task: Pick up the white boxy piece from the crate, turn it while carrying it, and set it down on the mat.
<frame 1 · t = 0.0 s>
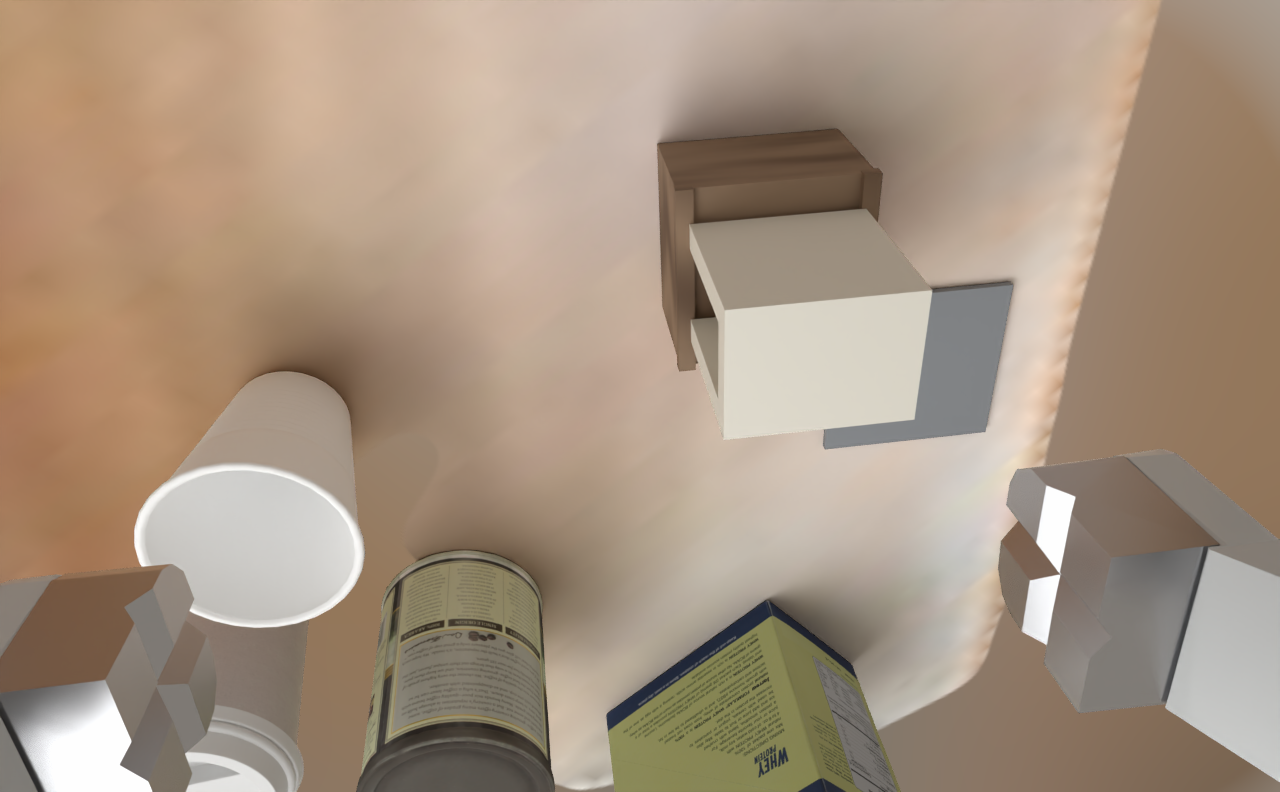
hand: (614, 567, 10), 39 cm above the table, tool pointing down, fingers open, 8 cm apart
coffee can: (463, 605, 63), on the table
cup: (293, 413, 54), on the table
mat: (912, 367, 57), on the table
protein box: (728, 686, 71), on the table
coffee cup: (257, 582, 60), on the table
white boxy piece: (776, 277, 45), point 6 cm above the table, touching crate
crate: (746, 221, 50), on the table
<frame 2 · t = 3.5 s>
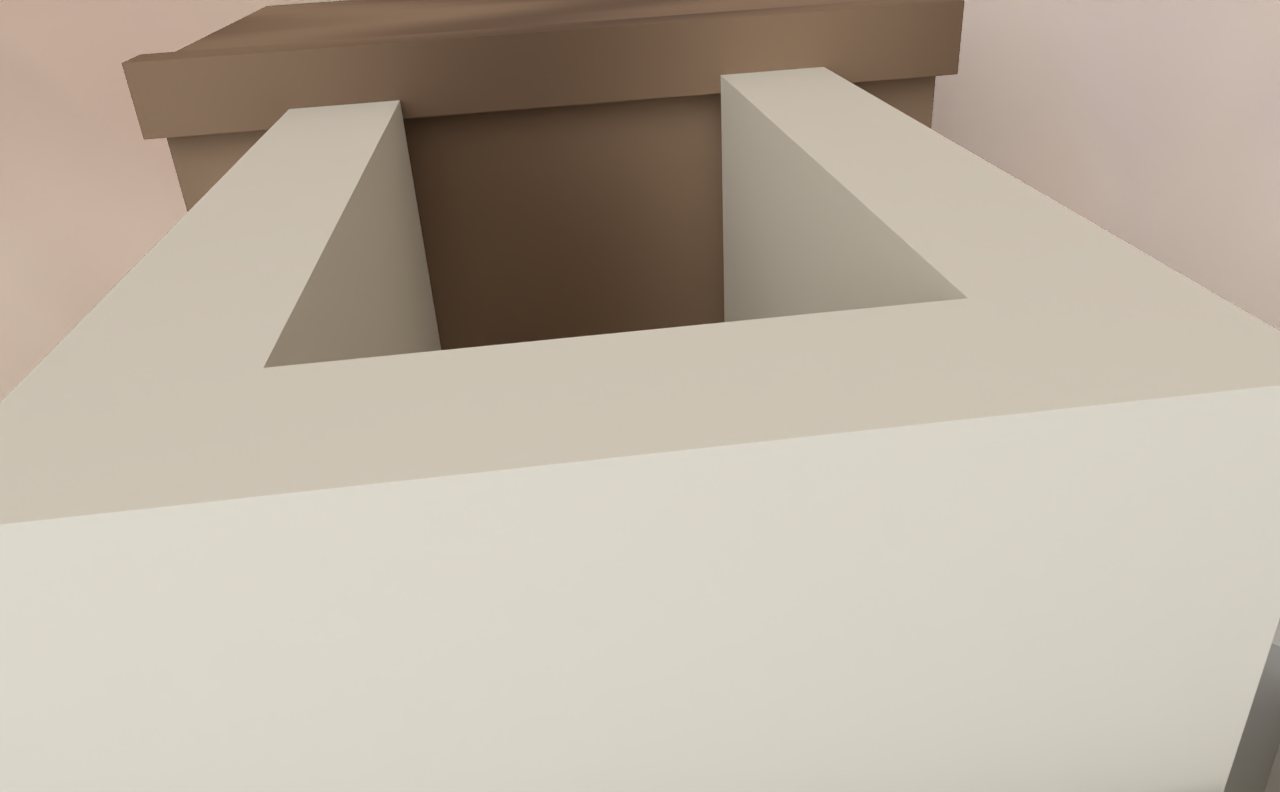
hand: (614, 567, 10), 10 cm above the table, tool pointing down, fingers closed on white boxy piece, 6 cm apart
white boxy piece: (590, 401, 13), point 6 cm above the table, touching crate, gripper
crate: (565, 243, 18), on the table
when the fingers open (5 cm above the table, at t = 9.4 s): white boxy piece stays where it is, resting on mat.
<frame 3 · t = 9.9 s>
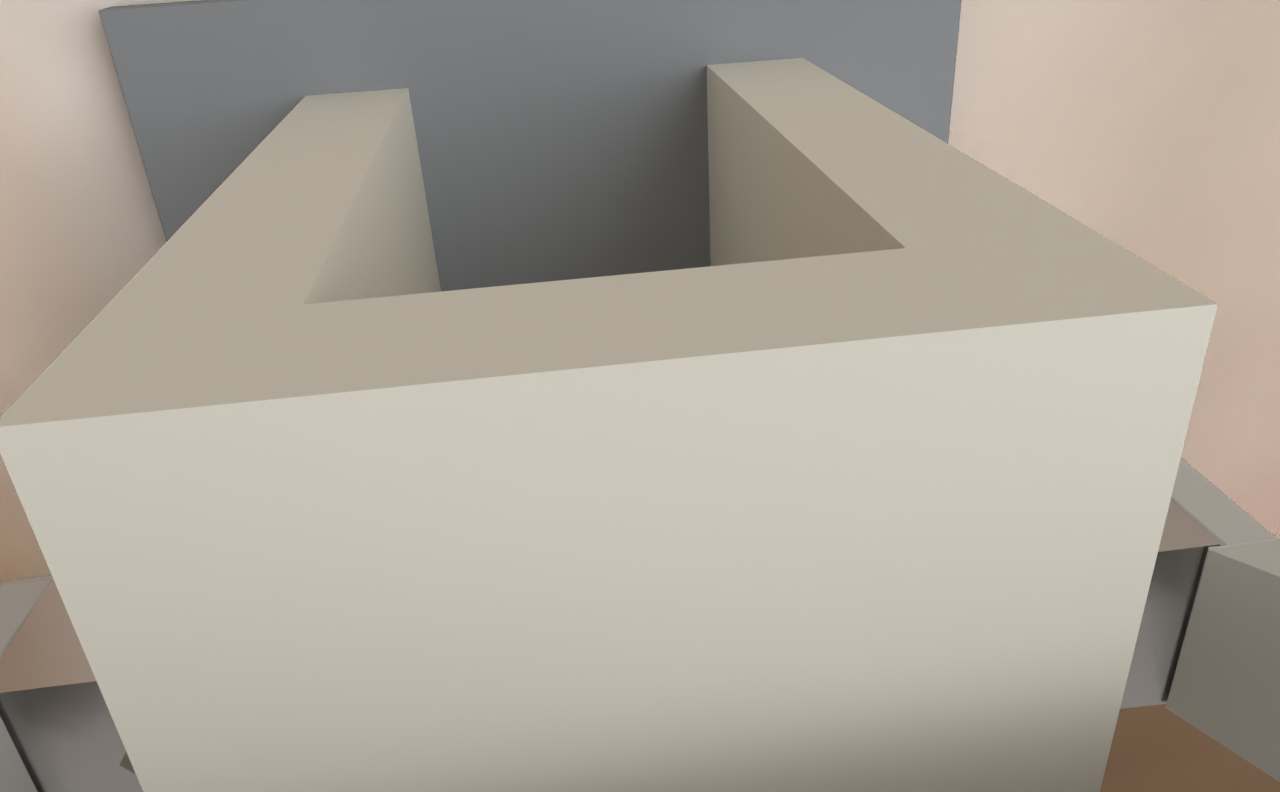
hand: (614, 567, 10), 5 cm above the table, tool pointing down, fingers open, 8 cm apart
mat: (581, 355, 14), on the table
white boxy piece: (585, 372, 14), resting on mat
crate: (1123, 757, 19), on the table
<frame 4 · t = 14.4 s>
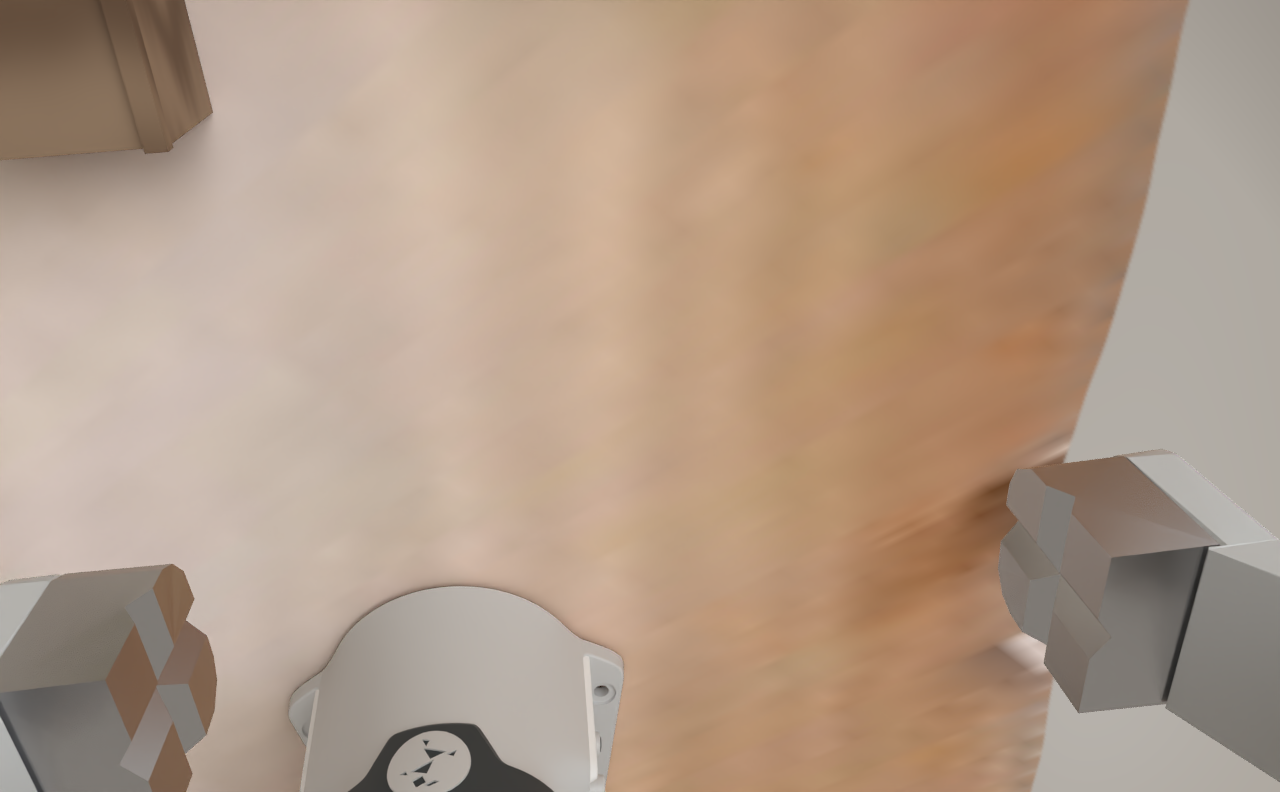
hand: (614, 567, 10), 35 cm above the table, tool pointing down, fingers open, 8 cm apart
crate: (63, 3, 38), on the table
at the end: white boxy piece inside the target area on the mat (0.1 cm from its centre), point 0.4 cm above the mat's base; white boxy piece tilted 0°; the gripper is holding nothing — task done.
